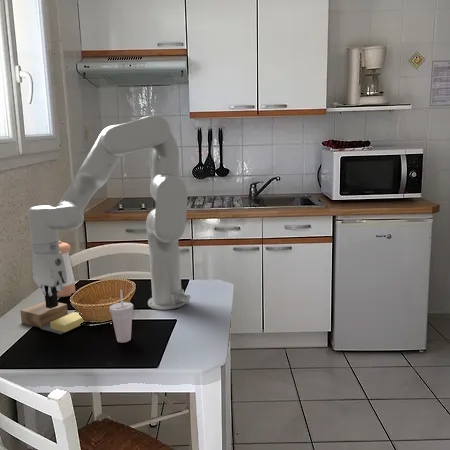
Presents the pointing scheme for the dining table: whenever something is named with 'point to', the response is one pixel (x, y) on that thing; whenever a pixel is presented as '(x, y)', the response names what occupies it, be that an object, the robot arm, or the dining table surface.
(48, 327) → the mat
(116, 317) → the smoothie
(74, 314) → the pale yellow block
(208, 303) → the dining table surface
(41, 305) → the block
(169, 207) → the robot arm
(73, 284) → the pepper shaker
